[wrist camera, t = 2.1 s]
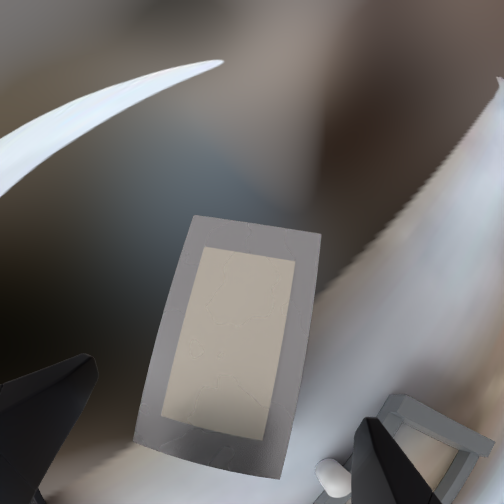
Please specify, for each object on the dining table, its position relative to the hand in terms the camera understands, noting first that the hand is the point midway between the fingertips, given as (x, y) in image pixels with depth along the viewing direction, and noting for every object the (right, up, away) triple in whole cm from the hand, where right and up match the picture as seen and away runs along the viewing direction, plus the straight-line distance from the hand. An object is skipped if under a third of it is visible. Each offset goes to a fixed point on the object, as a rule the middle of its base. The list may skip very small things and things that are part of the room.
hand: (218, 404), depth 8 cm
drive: (+1, -2, +9) cm, 10 cm away
